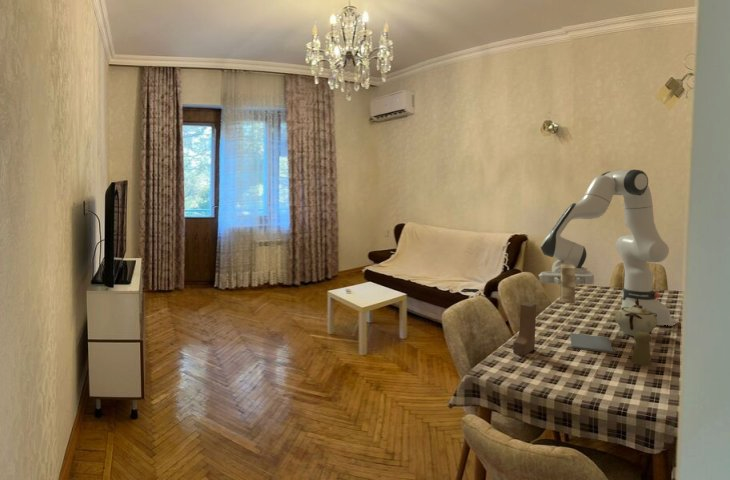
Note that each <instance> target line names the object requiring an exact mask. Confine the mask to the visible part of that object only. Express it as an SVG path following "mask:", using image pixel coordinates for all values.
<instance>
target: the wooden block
mask: <svg viewBox="0 0 730 480" xmlns="http://www.w3.org/2000/svg"><path fill="white" fill-rule="evenodd" d="M536 316H537V304H536V303H532V302H523V303H521V304H520V307H519V329H518V335H517V337H516V339H515V340H513V344H512V345H513V348H512V352H513V354H517V355H519V356H523V357H524V356H526V355H527V354H530V353H531V352H532V351H534V350H535V343H536V341H535V340H536V322H537V317H536Z"/></svg>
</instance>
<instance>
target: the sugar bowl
mask: <svg viewBox="0 0 730 480" xmlns="http://www.w3.org/2000/svg"><path fill="white" fill-rule="evenodd" d="M635 304H636V305H634V306H628V307H623V308H621V307H620V309H618V310H617V311H616V312H615V315H614V319H615V322H616V324H617V325H618V327H619V328H620V330H621V332H622V333H623V334H625V335H626V336H629V337H630V336H631V337H634V335H635V333H636V332H646V333H649V334H650V333H651V332H652V331H653V330H654V329H655V328H656V327H657V326H658V325H657V319H656V317H655V315H654V314H653V313H652V312H651V311H649V310H647V309H645V308H643V307H642V306H639V300H638V299H635Z"/></svg>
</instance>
